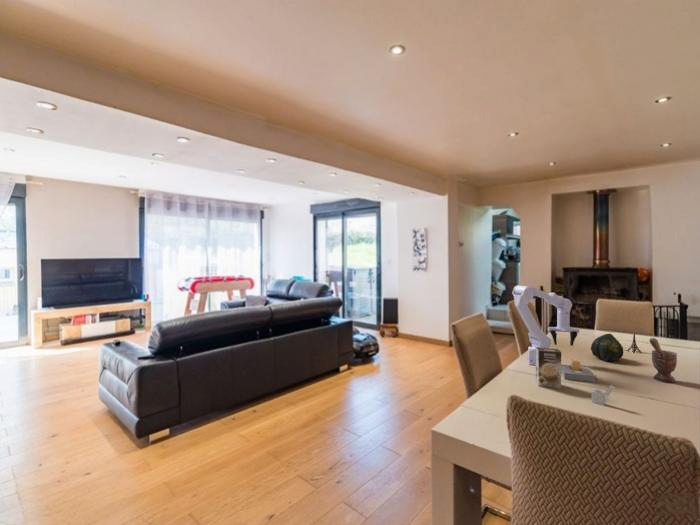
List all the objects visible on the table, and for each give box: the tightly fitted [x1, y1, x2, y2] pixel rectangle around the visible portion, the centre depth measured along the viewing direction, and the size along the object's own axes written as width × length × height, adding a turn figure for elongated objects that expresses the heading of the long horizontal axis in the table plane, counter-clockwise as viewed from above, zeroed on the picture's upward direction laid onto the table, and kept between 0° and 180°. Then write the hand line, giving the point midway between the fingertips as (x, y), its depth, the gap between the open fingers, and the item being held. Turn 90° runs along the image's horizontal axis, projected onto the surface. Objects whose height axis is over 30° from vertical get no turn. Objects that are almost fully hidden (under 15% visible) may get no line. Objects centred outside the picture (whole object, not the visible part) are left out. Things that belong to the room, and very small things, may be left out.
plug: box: [570, 358, 581, 371], centre depth 168 cm, size 3×4×6 cm
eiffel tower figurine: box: [626, 331, 643, 354], centre depth 206 cm, size 15×10×13 cm
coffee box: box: [535, 347, 562, 389], centre depth 155 cm, size 9×6×16 cm
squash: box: [590, 333, 624, 362], centre depth 192 cm, size 14×15×15 cm
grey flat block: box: [561, 363, 596, 383], centre depth 166 cm, size 12×14×3 cm
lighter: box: [591, 384, 615, 406], centre depth 134 cm, size 7×2×8 cm, turn 43°
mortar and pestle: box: [648, 337, 678, 384], centre depth 158 cm, size 12×9×20 cm
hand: (563, 345), depth 188 cm, fingers open, 7 cm apart
